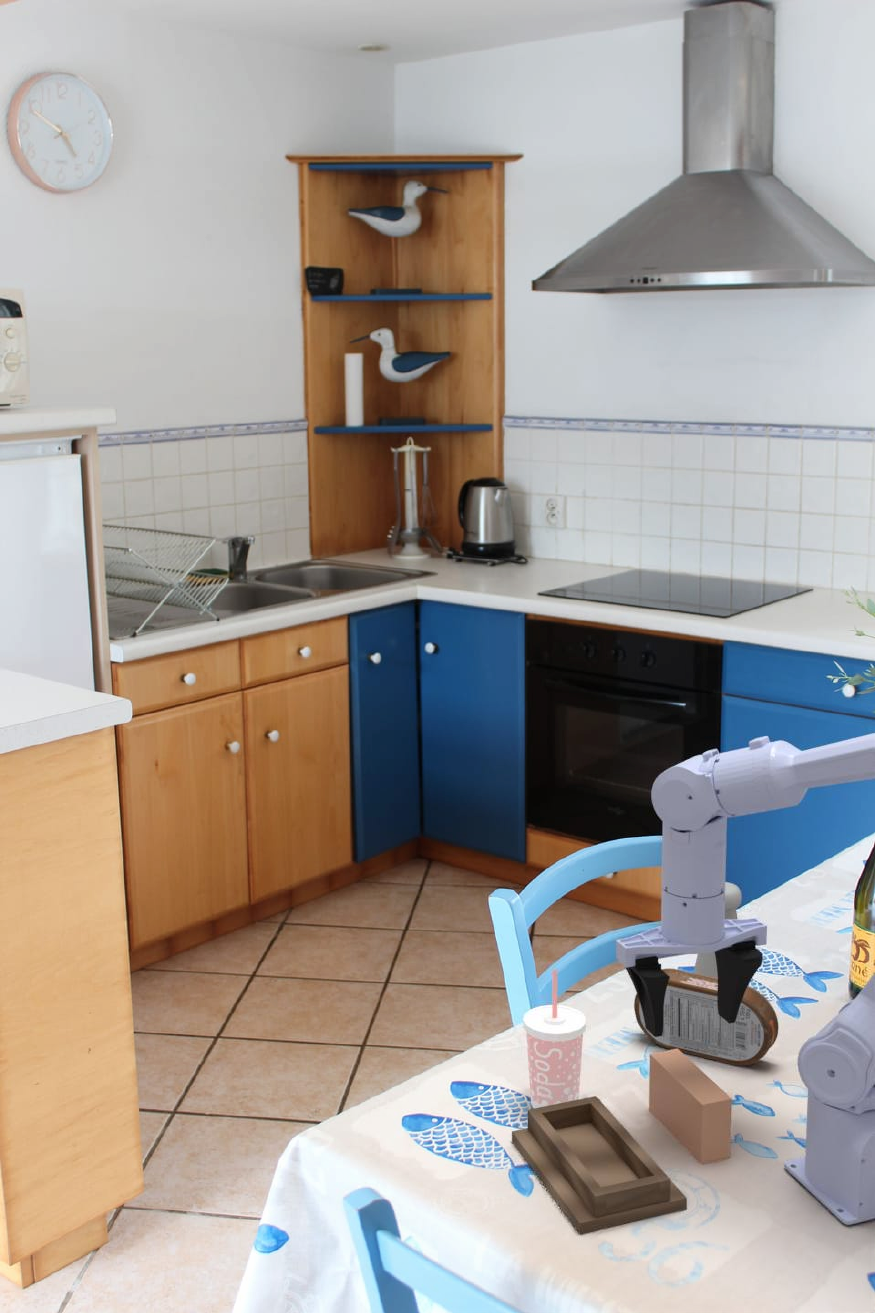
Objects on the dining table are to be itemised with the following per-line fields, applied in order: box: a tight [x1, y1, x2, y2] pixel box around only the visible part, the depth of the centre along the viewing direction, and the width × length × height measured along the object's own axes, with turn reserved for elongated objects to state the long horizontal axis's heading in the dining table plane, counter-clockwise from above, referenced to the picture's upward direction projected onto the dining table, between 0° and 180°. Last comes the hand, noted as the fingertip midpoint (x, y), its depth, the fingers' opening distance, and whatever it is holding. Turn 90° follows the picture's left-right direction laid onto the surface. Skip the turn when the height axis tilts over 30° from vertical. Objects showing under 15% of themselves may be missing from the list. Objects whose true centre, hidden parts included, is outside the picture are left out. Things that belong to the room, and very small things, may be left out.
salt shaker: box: [693, 881, 743, 978], centre depth 156 cm, size 6×6×13 cm
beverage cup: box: [522, 969, 587, 1109], centre depth 132 cm, size 6×6×14 cm
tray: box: [511, 1095, 688, 1235], centre depth 121 cm, size 15×10×3 cm, turn 19°
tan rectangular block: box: [648, 1049, 733, 1165], centre depth 127 cm, size 10×3×6 cm, turn 19°
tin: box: [633, 968, 779, 1067], centre depth 142 cm, size 15×3×8 cm, turn 60°
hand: (690, 1025), depth 127 cm, fingers open, 7 cm apart
